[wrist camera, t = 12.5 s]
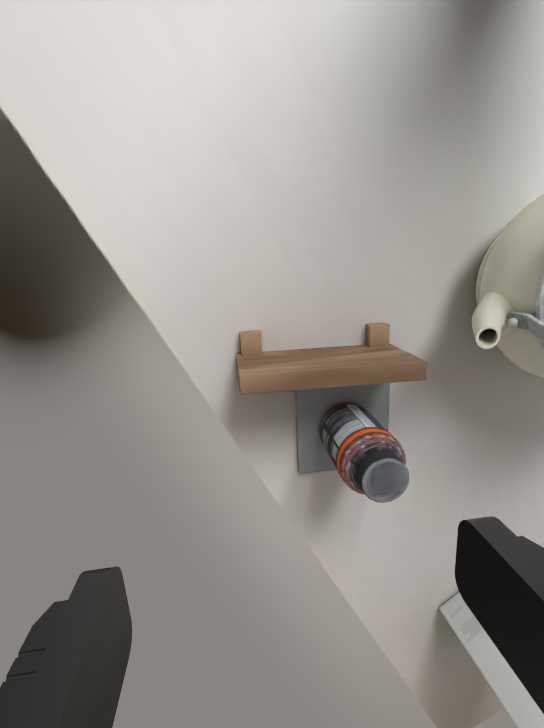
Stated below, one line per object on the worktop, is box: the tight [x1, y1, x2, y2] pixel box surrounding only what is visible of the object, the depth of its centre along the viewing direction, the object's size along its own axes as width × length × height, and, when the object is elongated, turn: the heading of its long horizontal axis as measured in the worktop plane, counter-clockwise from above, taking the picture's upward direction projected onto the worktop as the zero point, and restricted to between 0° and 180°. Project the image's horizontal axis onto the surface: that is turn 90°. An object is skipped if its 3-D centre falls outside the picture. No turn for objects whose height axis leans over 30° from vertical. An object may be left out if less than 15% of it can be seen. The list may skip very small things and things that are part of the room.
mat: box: [296, 383, 390, 473], centre depth 43 cm, size 10×10×1 cm
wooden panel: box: [236, 323, 427, 395], centre depth 37 cm, size 6×16×8 cm, turn 92°
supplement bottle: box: [319, 402, 409, 503], centre depth 37 cm, size 6×6×11 cm
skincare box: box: [439, 592, 544, 728], centre depth 45 cm, size 8×7×16 cm
